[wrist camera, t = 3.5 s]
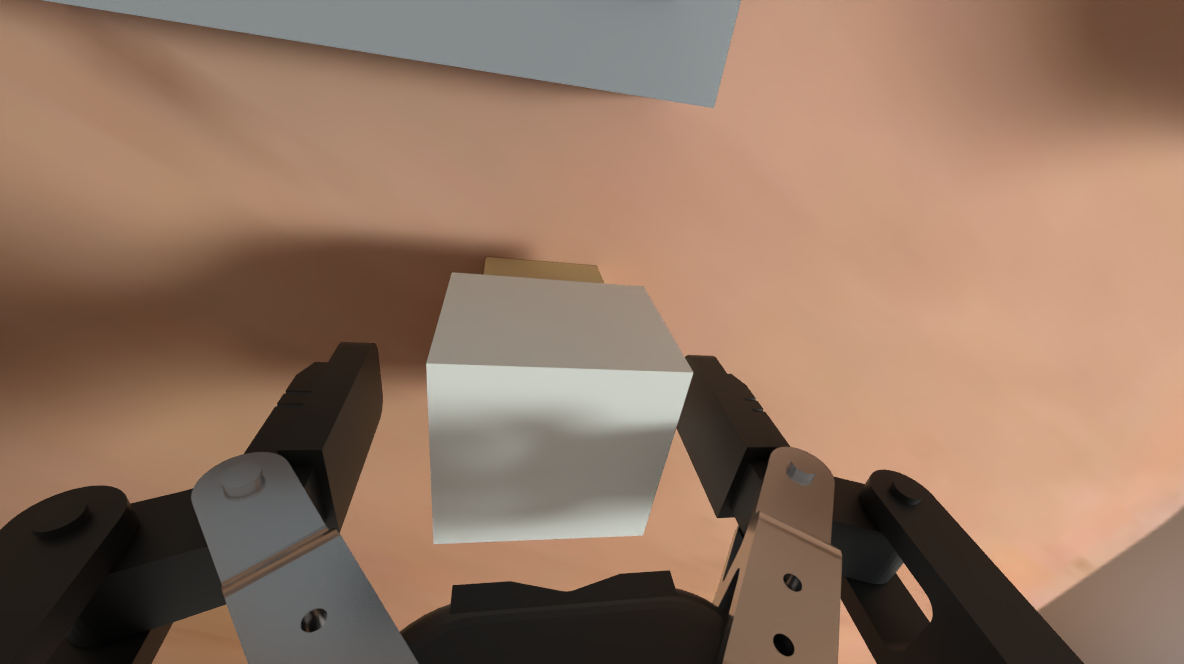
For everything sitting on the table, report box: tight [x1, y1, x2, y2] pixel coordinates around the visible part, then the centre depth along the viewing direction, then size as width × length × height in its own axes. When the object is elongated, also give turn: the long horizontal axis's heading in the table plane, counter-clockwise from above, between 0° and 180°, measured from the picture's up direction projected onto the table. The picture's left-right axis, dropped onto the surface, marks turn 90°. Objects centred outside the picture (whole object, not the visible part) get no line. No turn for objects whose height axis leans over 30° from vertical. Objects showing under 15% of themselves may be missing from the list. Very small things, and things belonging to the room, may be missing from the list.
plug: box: [426, 257, 693, 544], centre depth 13 cm, size 5×5×7 cm
